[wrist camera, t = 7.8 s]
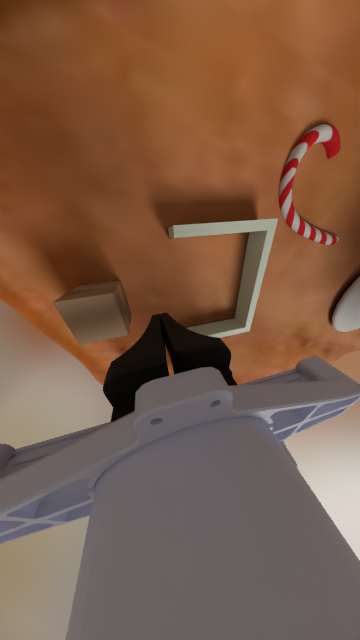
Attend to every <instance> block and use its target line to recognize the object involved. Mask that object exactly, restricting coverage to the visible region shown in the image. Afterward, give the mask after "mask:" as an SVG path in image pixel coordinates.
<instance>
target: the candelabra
mask: <svg viewBox="0 0 360 640" xmlns="http://www.w3.org/2000/svg"><path fill="white" fill-rule="evenodd" d="M332 325H333V327H334V328H335V330H336V331H341V332H347V331H352V330H355V329H358V328H360V276H359V277H358V278H357V279H356V280H355V281H354V282H353V283H352V285H351V286H350V287H349V288H348V289H347V290H346V291H345V293H344V294H343V296H342V297H341V299H340V300H339V302H338V304H337V306H336V308H335V311H334V313H333V316H332Z"/></svg>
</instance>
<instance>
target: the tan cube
mask: <svg viewBox="0 0 360 640" xmlns="http://www.w3.org/2000/svg"><path fill="white" fill-rule="evenodd" d="M53 303H54V305H55V306H56V308H57V310H58V311H59V313H60V314H61V316H62V317H63V319H64V321H65V322H66V324H67V325H68V327H69V328H70V330H71V332H72V333H73V335H74V336H75V338H76V339H77V341H78V343H79V344H80V345H84V344H89V343H94V342H99V341H104V340H109V339H114V338H118V337H123V336H128V335H129V328H130V322H131V316H132V315H131V312H130V309H129V305H128V302H127V299H126V296H125V293H124V290H123V286H122V283H121V280H119V281H112V282H105V283H97V284H90V285H83V286H76V287H75V288H73V289H72V290H70V291H69V292H67V293H66V294H64V295H63V296H61V297H60V298H59V299H57V300H56V301H54V302H53Z"/></svg>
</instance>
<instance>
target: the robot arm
mask: <svg viewBox="0 0 360 640" xmlns="http://www.w3.org/2000/svg"><path fill="white" fill-rule="evenodd" d="M165 343H166V346H167V349H168V352H169V355H170V358H171V362H172V366H173V370H174V375H170V376H169V372H168V366H167V361H166V350H165ZM230 360H231V352H230V350H229V348H228V347H227V346H226V345H225V343H224V342H223V341H222V340H221V339H220V338H216V337H211V336H206V335H202V334H199V333H196V332H194V331H191V330H189V329H187V328H185V327H183V326H182V325H180V324H179V323H177V322H176V321H175V320H174V319H173V318H171V317H170V316H169V315H168V314H167V313H162V314H156V315H153V316H152V318H151V321H150V323H149V325H148V327H147V329H146V331H145V332H144V334H143V335H142V337H141V338H140V339H139V340H138V341H137V342H136V343H135V344H134V345H133V346H132V347H131V348H130V349H129V350H128V351H126V352H125V353H124V354H123V355H121V356H120V357H118V358H117V359H115V360H114V361H112V362H111V365H110V367H109V369H108V372H107V375H106V378H105V382H104V386H103V391H104V394H105V396H106V397H107V399H108V400H109V402H110V403H111V405H112V406H113V412H112V418H111V422H109V423H105V424H102V425H98V426H95V427H91V428H88V429H84V430H81V431H77V432H74V433H71V434H67V435H64V436H60V437H57V438H53V439H50V440H46V441H43V442H40V443H36V444H32V445H29V446H26V447H22V448H19V449H14V448H13V447H12V446H10V445H7V444H0V544H3V543H6V542H9V541H12V540H15V539H18V538H21V537H24V536H27V535H30V534H33V533H36V532H40V531H43V530H46V529H49V528H52V527H55V526H58V525H62V524H65V523H68V522H71V521H74V520H78V519H81V518H84V517H87V516H90V518H89V524H88V528H87V534H86V539H85V544H84V549H83V554H82V559H81V564H80V570H79V575H78V580H77V585H76V590H75V595H74V601H73V605H72V611H71V616H70V621H69V626H68V632H67V636H66V640H360V561H359V559H358V558H357V556H356V555H355V553H354V552H353V551H352V549H351V548H350V546H349V545H348V543H347V542H346V540H345V539H344V537H343V536H342V534H341V533H340V531H339V530H338V528H337V527H336V525H335V524H334V522H333V521H332V520H331V518H330V516H329V515H328V514H327V512H326V511H325V509H324V508H323V506H322V505H321V503H320V502H319V500H318V499H317V497H316V496H315V494H314V493H313V491H312V490H311V488H310V487H309V485H308V484H307V483H306V481H305V480H304V478H303V477H302V475H301V474H300V472H299V471H298V469H297V464H296V462H295V460H294V459H293V457H292V456H291V454H290V453H289V451H288V450H287V448H286V445H285V444H284V441H283V440H285V439H287V438H289V437H291V436H293V435H295V434H297V433H299V432H301V431H304V430H306V429H308V428H310V427H312V426H314V425H316V424H319V423H321V422H323V421H326V420H328V419H331V418H333V417H336V416H338V415H340V414H342V413H343V412H344V411H346V410H347V409H348V408H349V407H350V406H352V405H353V404H354V403H355V402H356V401H357V400H359V399H360V384H358V383H357V382H356V381H354V380H353V379H351V378H350V377H348V376H347V375H345V374H344V373H342V372H341V371H339V370H338V369H336V368H334V367H333V366H331V365H330V364H328V363H327V362H325V361H324V360H322V359H321V358H319V357H318V356H313V357H309V358H305V359H302V360H301V361H299V362H298V363H297V365H296V367H295V369H292V370H289V371H285V372H282V373H278V374H275V375H271V376H268V377H265V378H261V379H258V380H254V381H251V382H247V383H244V384H240V385H237V383H236V382H235V380H234V379H233V377H232V372H231V370H230V369H229V365H230Z"/></svg>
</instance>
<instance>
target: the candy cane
mask: <svg viewBox="0 0 360 640" xmlns="http://www.w3.org/2000/svg"><path fill="white" fill-rule="evenodd" d="M315 143H322V144H323V145H324V147H325V149H326V154H327V158H328V159H329V158H331V157H333V156H335V155H336V154H337V153H338V152H339V150H340V137H339V133H338V130H337V129H336V128H335V127H334V126H333V125H331V124H322V125H319V126H317V127H315V128H313V129H312V130H310V131H308V132H307V133H306V134H305V135H303V137H302V138H301V139H300V140H299V141H298V143H297V144H296V146H295V147H294V149H293V150H292V152H291V154H290V156H289V158H288V160H287V162H286V165H285V168H284V170H283V174H282V177H281V181H280V187H279V205H280V210H281V213H282V216H283V218H284V220H285V221H286V223H287V224H288V225H289V227H290V228H291V229H293V230H294V231H295V232H297V233H298V234H300V235H302V236H304V237H306V238H308V239H310V240H313V241H315V242H318V243H322V244H326V245H334V244H335V243H337V242H338V240H339V238H338V237H337V236H335V235H332V234H329V233H326V232H323V231H321V230H319V229H317V228H315V227H313V226H311V225H310V224H308V223H306V222H305V221H304V220H303V219H301V218H300V217H299V215H298V214H297V212H296V211H295V209H294V206H293V202H292V183H293V179H294V175H295V172H296V169H297V167H298V164H299V162H300V160H301V158H302V157H303V155H304V153H305V152H306V151H307V149H308V148H309V147H310V146H312V145H313V144H315Z"/></svg>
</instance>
